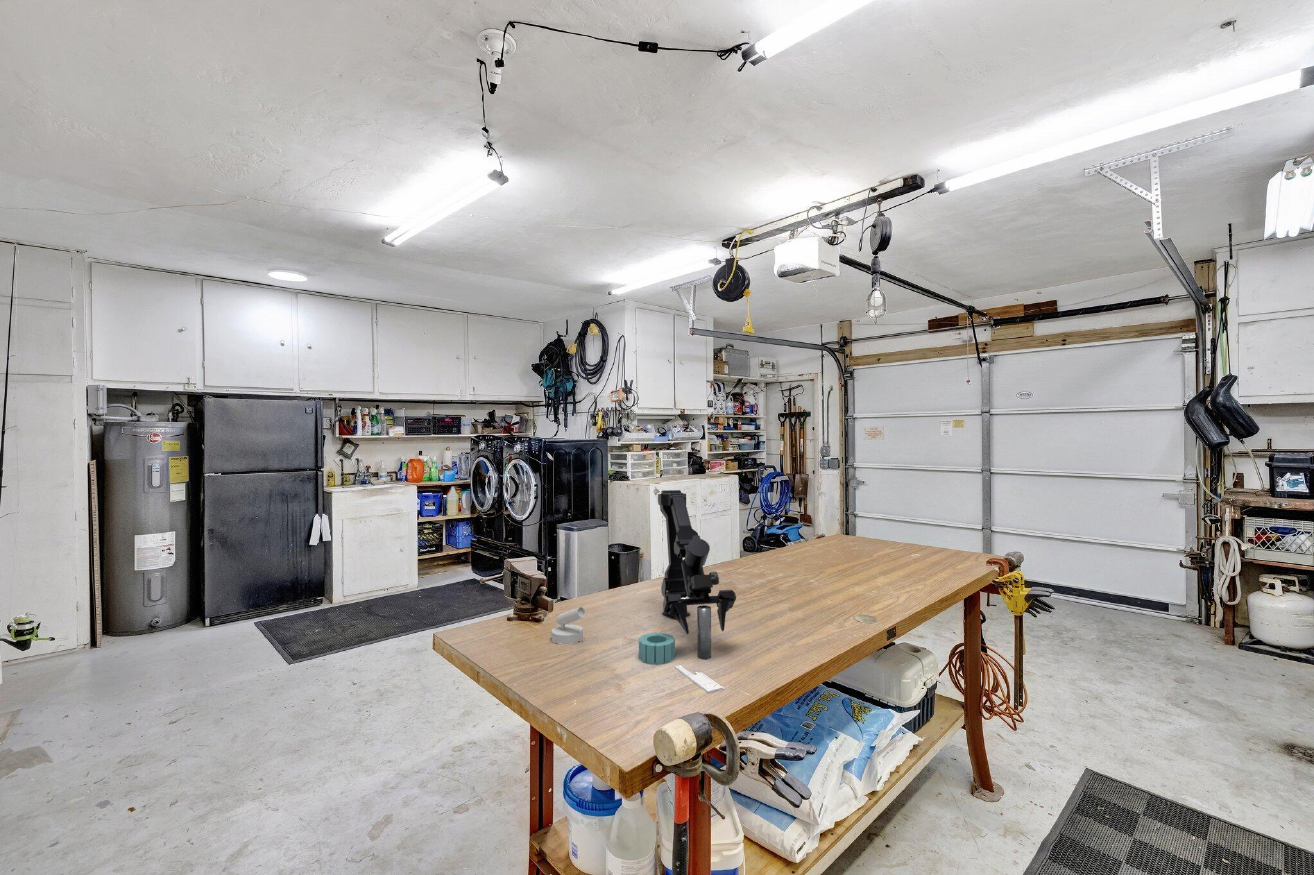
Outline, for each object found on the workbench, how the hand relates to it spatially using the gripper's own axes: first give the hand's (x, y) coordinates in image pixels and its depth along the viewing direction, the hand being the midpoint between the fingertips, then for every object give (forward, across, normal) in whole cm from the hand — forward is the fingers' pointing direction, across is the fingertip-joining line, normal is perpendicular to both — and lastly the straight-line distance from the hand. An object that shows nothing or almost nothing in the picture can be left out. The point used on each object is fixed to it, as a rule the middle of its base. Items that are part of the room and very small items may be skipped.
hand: (705, 631), depth 139 cm
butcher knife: (+12, -4, -2) cm, 13 cm away
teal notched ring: (+2, -12, +7) cm, 14 cm away
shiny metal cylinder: (+4, 0, +6) cm, 7 cm away
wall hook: (-10, -33, +19) cm, 40 cm away
